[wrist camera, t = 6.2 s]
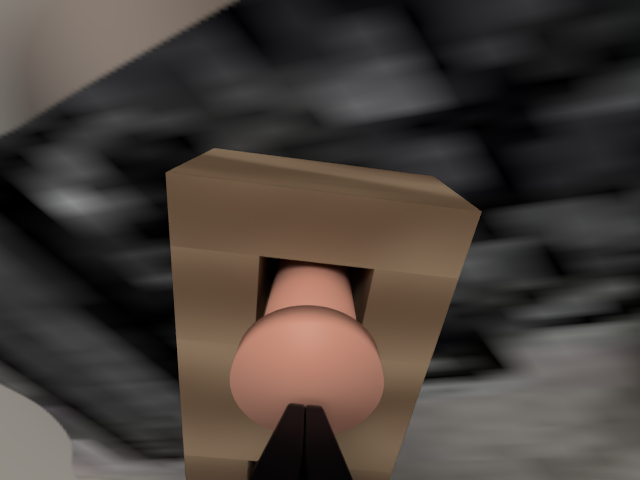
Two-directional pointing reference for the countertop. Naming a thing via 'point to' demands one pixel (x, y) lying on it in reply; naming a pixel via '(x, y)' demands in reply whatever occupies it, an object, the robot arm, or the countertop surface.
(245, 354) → the brick plug
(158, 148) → the countertop surface
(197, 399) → the socket board
